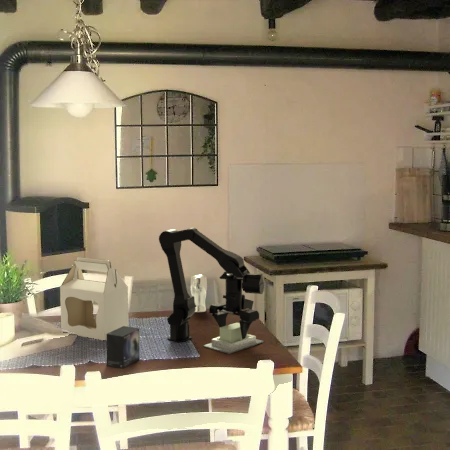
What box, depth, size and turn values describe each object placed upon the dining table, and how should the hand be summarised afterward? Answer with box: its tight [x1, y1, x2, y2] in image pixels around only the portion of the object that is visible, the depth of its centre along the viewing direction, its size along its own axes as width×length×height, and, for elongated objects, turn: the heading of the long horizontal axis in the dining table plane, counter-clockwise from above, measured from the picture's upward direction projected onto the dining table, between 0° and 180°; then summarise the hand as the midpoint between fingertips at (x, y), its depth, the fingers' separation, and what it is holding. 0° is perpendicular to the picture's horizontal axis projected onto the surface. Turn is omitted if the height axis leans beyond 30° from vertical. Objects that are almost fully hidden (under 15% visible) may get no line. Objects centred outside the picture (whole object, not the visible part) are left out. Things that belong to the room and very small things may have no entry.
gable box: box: [59, 256, 130, 341], centre depth 232 cm, size 22×13×28 cm, turn 59°
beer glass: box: [190, 274, 208, 313], centre depth 266 cm, size 7×7×15 cm
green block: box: [219, 322, 248, 343], centre depth 217 cm, size 5×9×6 cm, turn 138°
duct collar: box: [202, 333, 264, 355], centre depth 217 cm, size 18×12×2 cm, turn 137°
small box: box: [105, 326, 140, 369], centre depth 197 cm, size 11×6×10 cm, turn 158°
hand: (233, 336), depth 217 cm, fingers open, 9 cm apart
